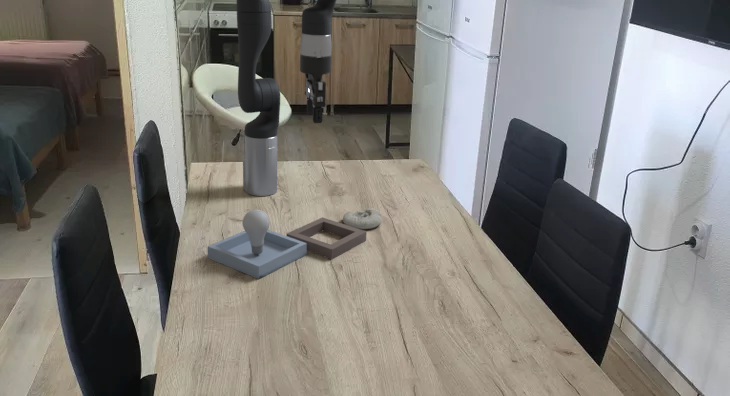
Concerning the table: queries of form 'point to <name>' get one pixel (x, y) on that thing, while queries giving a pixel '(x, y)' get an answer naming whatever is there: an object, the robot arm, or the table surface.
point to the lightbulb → (256, 229)
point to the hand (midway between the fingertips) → (314, 118)
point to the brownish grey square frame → (324, 249)
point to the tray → (272, 258)
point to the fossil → (363, 219)
